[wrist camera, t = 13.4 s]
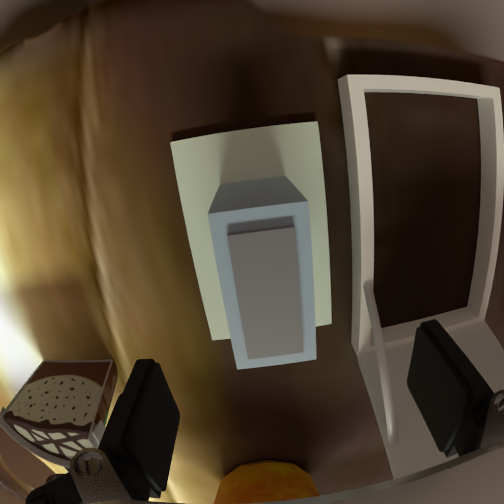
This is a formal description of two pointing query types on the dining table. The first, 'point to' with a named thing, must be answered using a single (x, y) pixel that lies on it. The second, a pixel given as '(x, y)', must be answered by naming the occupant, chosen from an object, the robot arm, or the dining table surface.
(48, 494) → the robot arm
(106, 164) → the dining table surface
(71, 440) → the food container
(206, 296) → the mat
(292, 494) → the bucket of meat
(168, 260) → the dining table surface
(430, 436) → the case
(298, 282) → the box
